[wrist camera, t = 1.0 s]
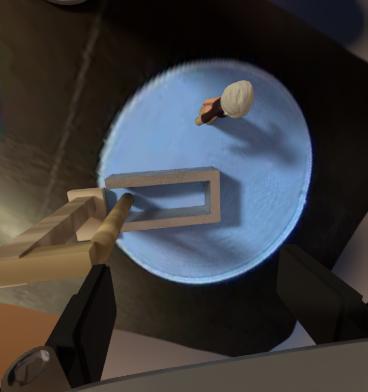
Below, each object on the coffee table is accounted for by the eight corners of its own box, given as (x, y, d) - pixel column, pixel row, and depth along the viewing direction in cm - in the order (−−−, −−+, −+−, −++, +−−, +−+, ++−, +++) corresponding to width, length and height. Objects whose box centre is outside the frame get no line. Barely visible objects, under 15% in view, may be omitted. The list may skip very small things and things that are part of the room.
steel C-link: (211, 166, 33) (219, 169, 29) (213, 212, 35) (220, 221, 31) (112, 174, 32) (104, 179, 27) (119, 221, 34) (113, 233, 30)
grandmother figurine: (223, 85, 30) (265, 46, 18) (237, 106, 31) (286, 84, 19) (183, 118, 31) (198, 103, 19) (198, 139, 32) (222, 137, 20)
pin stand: (71, 190, 32) (-44, 252, 14) (133, 184, 32) (99, 237, 15) (81, 236, 34) (-7, 343, 16) (139, 230, 35) (116, 325, 17)
